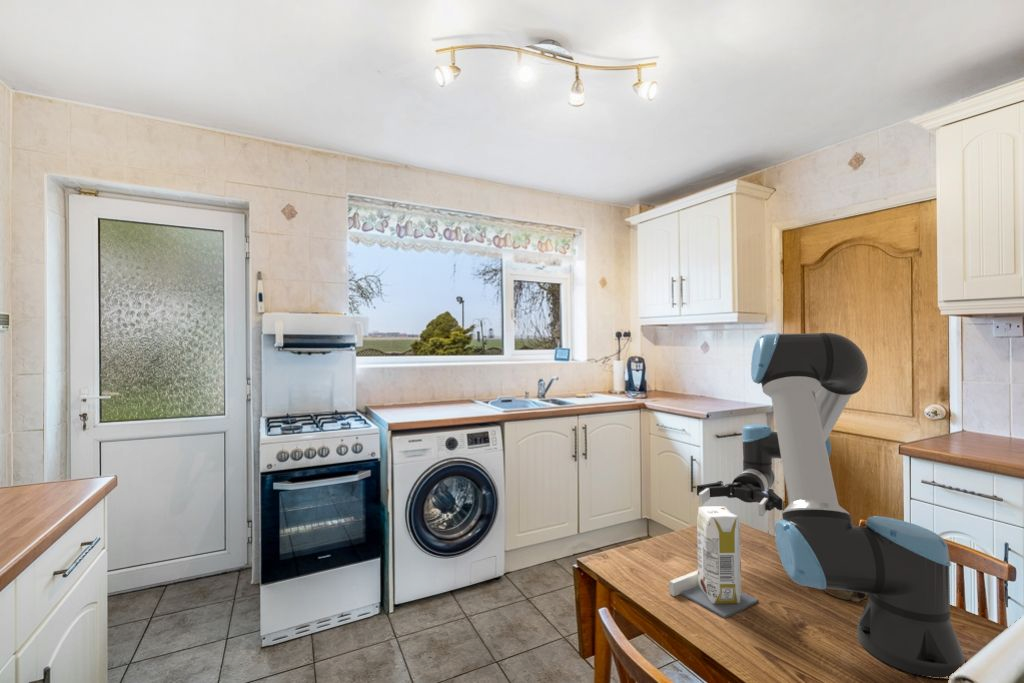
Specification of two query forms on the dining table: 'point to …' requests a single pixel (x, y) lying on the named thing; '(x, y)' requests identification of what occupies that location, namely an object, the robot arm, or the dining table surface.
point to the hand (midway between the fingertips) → (729, 504)
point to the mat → (719, 609)
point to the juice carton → (719, 554)
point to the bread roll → (847, 595)
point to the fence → (683, 583)
